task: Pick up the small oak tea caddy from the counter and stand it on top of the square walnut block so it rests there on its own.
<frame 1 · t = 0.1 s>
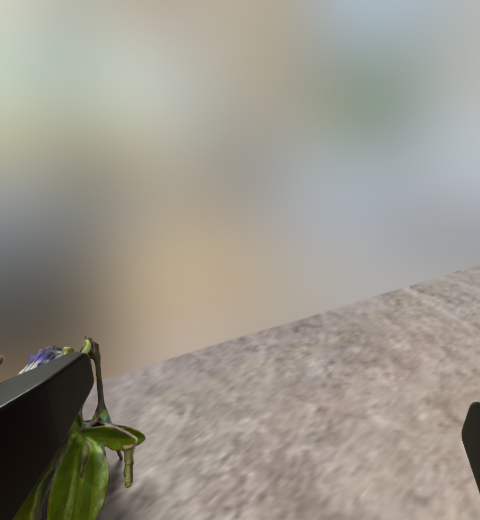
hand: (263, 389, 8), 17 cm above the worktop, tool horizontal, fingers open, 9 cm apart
passion flower: (64, 474, 23), on the worktop
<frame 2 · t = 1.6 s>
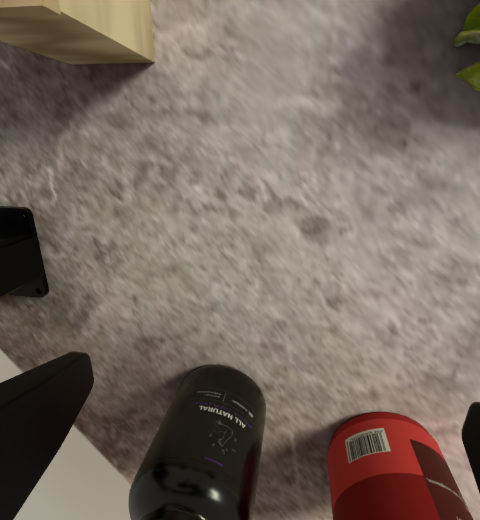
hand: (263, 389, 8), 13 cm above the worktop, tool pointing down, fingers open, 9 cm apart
canned food: (378, 447, 25), on the worktop
oak tea caddy: (106, 8, 17), on the worktop
supplement bottle: (222, 395, 25), on the worktop
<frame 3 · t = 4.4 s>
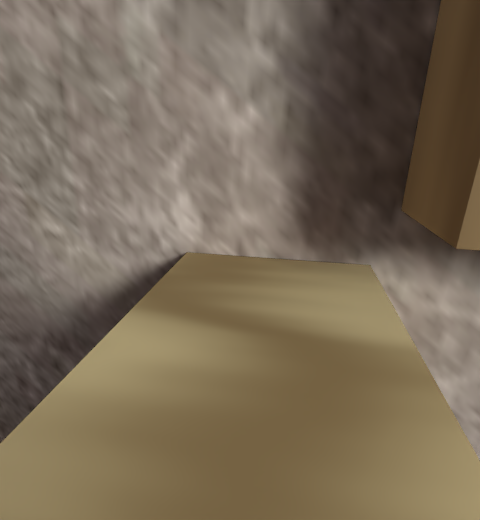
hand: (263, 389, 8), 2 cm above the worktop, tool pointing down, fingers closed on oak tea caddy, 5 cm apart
oak tea caddy: (270, 336, 10), on the worktop, touching gripper
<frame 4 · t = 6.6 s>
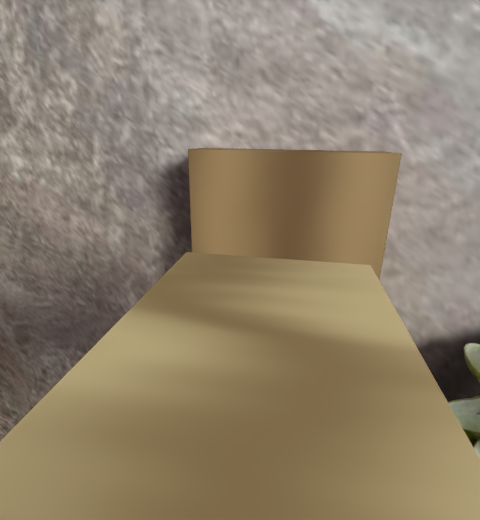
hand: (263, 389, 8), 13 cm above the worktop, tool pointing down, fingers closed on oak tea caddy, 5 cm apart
walnut block: (285, 236, 20), on the worktop
oak tea caddy: (270, 336, 10), point 11 cm above the worktop, touching gripper
when the fingers open (6 cm above the worktop, at t = 8.6 s): oak tea caddy drops 1 cm, resting on walnut block.
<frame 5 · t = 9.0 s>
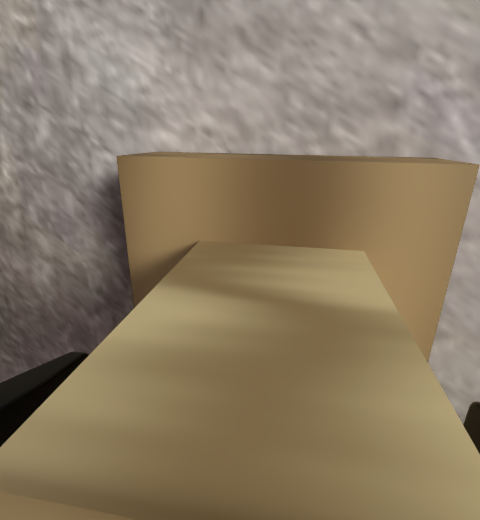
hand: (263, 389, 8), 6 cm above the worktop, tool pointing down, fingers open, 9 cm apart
walnut block: (279, 280, 14), on the worktop
oak tea caddy: (274, 316, 11), point 3 cm above the worktop, touching walnut block
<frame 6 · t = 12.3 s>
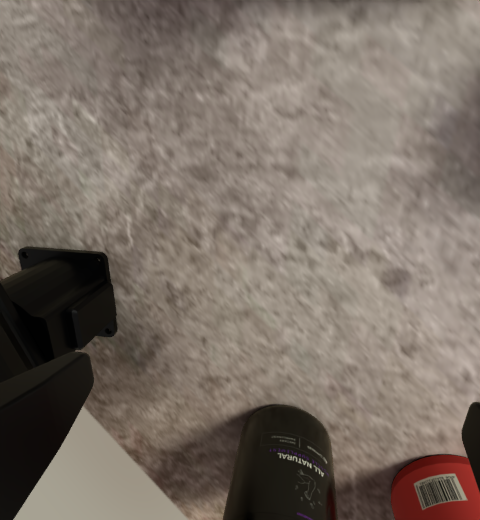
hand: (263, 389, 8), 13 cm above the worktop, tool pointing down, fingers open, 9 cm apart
canned food: (441, 487, 25), on the worktop
supplement bottle: (284, 433, 25), on the worktop
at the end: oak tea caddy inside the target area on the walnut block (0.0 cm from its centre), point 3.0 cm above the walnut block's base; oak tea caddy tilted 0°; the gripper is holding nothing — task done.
